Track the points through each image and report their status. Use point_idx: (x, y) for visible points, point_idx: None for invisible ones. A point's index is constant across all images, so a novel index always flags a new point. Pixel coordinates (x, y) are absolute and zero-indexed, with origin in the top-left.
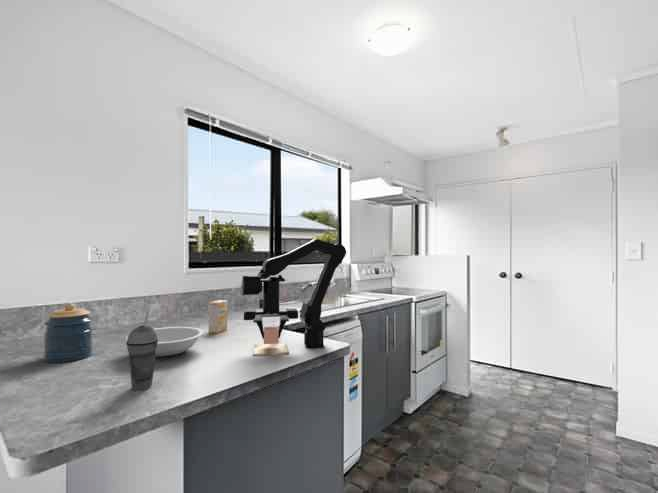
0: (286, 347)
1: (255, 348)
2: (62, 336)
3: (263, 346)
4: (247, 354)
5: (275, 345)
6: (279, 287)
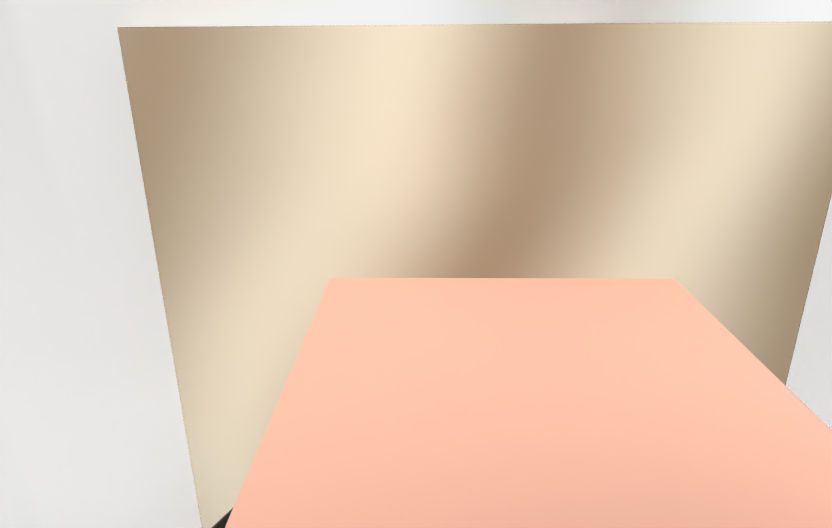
0: (768, 350)
1: (204, 333)
2: None
3: (340, 221)
4: (132, 499)
5: (585, 185)
6: None
